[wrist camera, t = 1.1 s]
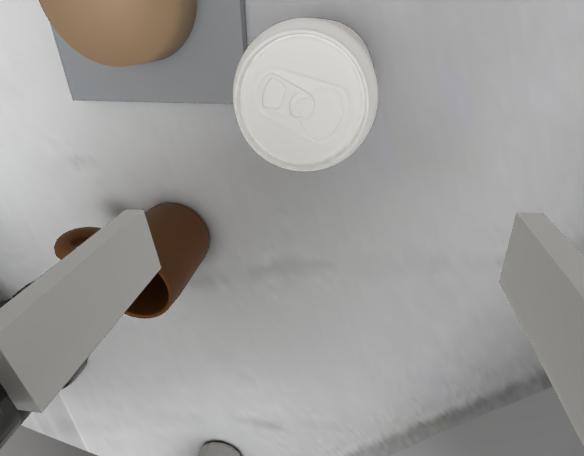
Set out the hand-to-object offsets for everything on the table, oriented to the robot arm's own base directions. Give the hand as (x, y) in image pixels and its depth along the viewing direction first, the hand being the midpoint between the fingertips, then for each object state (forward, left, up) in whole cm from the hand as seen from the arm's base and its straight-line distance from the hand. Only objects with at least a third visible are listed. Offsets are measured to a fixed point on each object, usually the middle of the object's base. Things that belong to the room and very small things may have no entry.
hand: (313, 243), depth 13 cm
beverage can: (-2, +3, -20) cm, 21 cm away
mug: (-19, -12, -20) cm, 30 cm away
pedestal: (-16, +9, -20) cm, 27 cm away
